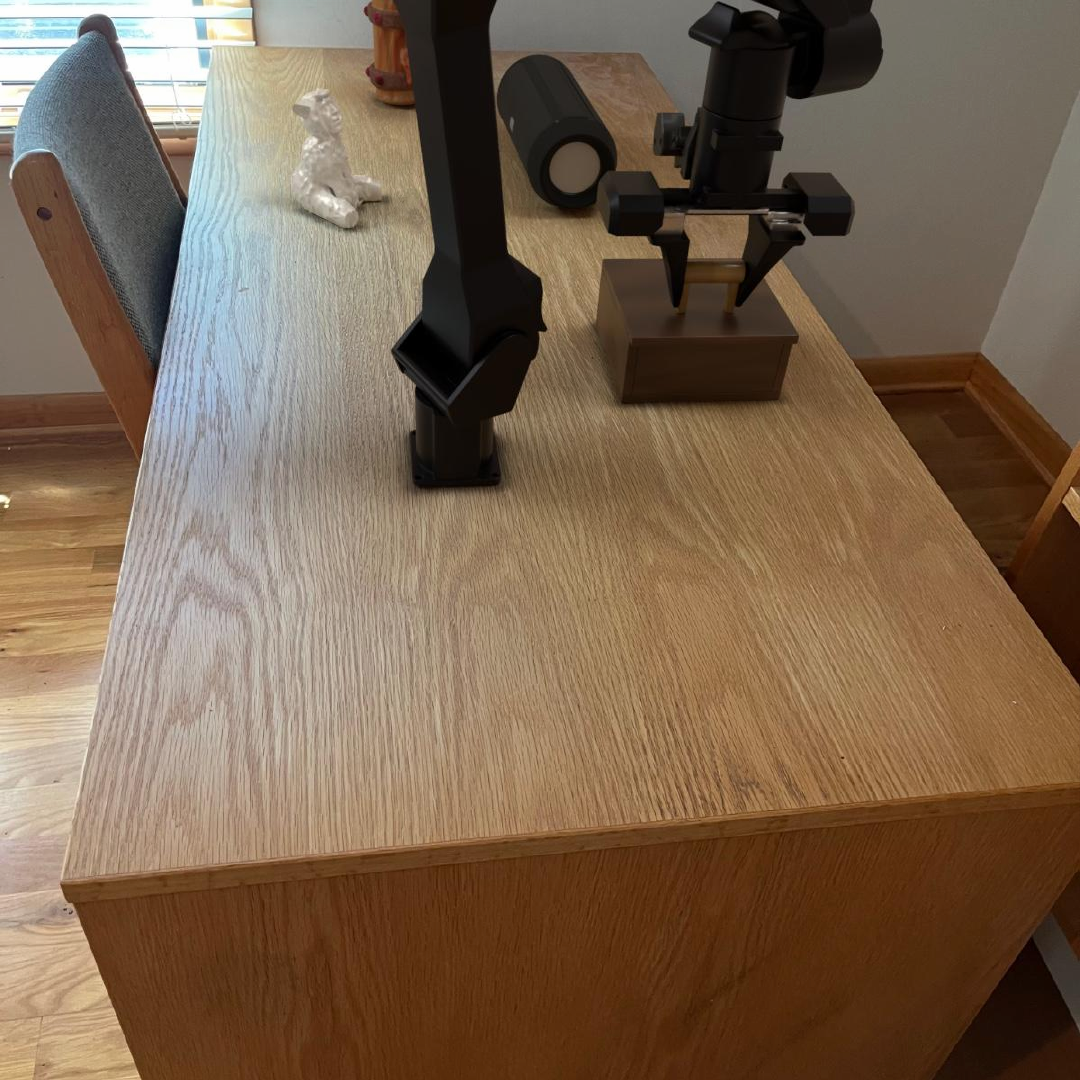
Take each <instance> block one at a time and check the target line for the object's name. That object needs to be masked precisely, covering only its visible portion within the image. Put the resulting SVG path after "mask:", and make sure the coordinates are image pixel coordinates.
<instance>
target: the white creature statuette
mask: <svg viewBox="0 0 1080 1080" xmlns="http://www.w3.org/2000/svg"><path fill="white" fill-rule="evenodd" d="M335 99H336V98H335V97H334V96H333V95H331V90H330V89H328V88H321V87H317V88H316V90H315V91H309V92H307V93H306V94H304V95H303V96H301V100H300V101H299V102H295V103H293V105H292V107H291V112H292V113H293V114H294V115H296V116H297V117H298V119H299V120H300V123H301V124H302V126H303V128H304V129H305V131H306V133H308V136H307V138H305V139H304V142H303V143H302V145H301V149H302V150H301V153H300V159H301V160H300V162H299V163H298V166H297V167H296V169H295V171H294V172H293V173H291V177H292V178H291V179H290V183H291V187H292V192H293V195H294V196H295V200H296V201H297V203H298V204H299V205H301V206H302V207H303V209H304V210H306V211H308V213H310V214H314V215H316V216H318V217H319V218H322V219H324V220H326V221H328V222H329V223H331V224H333V225H336V226H337V227H339V228H342V229H351V228H352V229H353V228H354V227H355V226H356V225H357V223H358V221H359V213H358V211H357V209H358V208H360V206H361V204H362V203H364V202H382V201H383V200H382V199H383V197H382V195H383V194H382V181H379V180H376V179H373V178H372V177H369V175H367V174H354V175H352V169H351V168H350V164H349V163H348V156H347V152H346V151H345V150H346V148H345V145H344V143H343V142H342V139H343V138H342V134H341V133H342V132H343V130H344V129H343V126H342V122H343V116H342V114H341V111H340V109H339V107H338V104H337V102H336V100H335Z"/></svg>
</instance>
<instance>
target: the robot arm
mask: <svg viewBox="0 0 1080 1080" xmlns="http://www.w3.org/2000/svg"><path fill="white" fill-rule="evenodd" d="M750 1H752V2H755V3H757V4H759V5H762V6H764V7H766V8H770V9H772V10H774V11H777V12H778V16H777V18H776V17H775V16H774V15H772V14H771V13H770V12H767V11H765V10H761V9H753V10H746V11H745V10H744V11H740V9H739V7H738V8H737V7H735V6H733V5H730V4H727V3H725V2H723V1H721V0H720V1H719V0H717V1H715V2H714V4H713V5H712V7H711V9H710V10H708V12H707V13H705V14H704V15H703V16H701V17H699V18H698V19H697V20H695V22H693V24H692V25H691V26H690V27H689V29H688V31H687V35H688V37H689V38H690V39H692V40H694V41H696V42H699V43H701V44H703V45H705V46H708V47H710V51H709V52H710V53H709V59H708V64H707V65H708V66H707V72H706V78H705V84H704V90H703V95H702V103H701V106H698V107H697V110H696V112H695V114H694V121H693V125H686V120H685V119H686V118H685V114H684V113H683V112H657V113H656V117H655V124H654V129H653V139H652V140H653V141H652V143H653V144H652V151H653V155H654V156H656V157H674V164H673V168H674V169H679V170H680V171H679V175H680V176H681V179H682V180H684V181H689V184H688V187H660V186H659V184H658V182H657V179H656V177H655V176H654V174H653V172H652V170H616V171H607V172H606V174H605V175H604V176H603V177H602V178H601V179H600V181H599V183H598V192H597V202H596V203H595V205H596V207H597V209H598V213H599V214H600V217H601V220H602V222H603V224H604V227H605V230H606V232H607V234H609V235H612V236H614V237H646V238H647V240H648V242H649V244H650V245H651V246H653V247H659V249H660V252H661V256H662V259H663V262H664V267H665V272H666V278H667V283H668V288H669V294H670V299H671V303H672V305H673V307H674V308H678V307H679V304H680V301H681V298H682V295H683V288H684V281H685V274H686V267H687V260H688V258H689V252H690V246H691V245H690V244H691V240H690V238H689V236H688V234H687V232H686V230H685V228H684V227H685V220H686V216H748V221H747V222H748V225H747V226H748V228H747V237H746V241H745V245H744V248H743V251H742V252H743V253H742V255H741V258H742V259H741V260H744V262H745V266H746V274H745V279H744V281H743V282H742V283H739V288H738V292H737V297H736V302H735V306H736V307H741V306H742V305H743V303H744V302H745V301H746V299H747V298H748V297H749V296H750V294H751V293H752V292H753V291H754V289H755V288H756V287H757V286H758V284H759V283H760V282H761V281H762V279H763V278H765V277H766V276H767V275H768V273H769V272H770V271H771V270H772V269H773V268H774V267H775V266H776V265H777V264H779V262H780V261H781V260H782V259H783V258H784V257H785V256H786V254H788V253H789V252H790V251H791V249H793V248H794V247H801V246H804V245H805V243H806V240H807V237H806V235H805V234H804V232H803V231H802V230H801V229H802V225H804V227H805V228H806V229H807V231H808V232H809V233H810V234H811V236H812V237H846V236H847V235H849V234H850V233H851V230H852V225H853V222H854V218H855V214H856V206H855V201H854V199H853V198H852V196H851V195H850V194H849V192H848V191H847V190H846V189H845V188H844V187H843V185H842V184H841V183H840V182H839V181H838V179H837V178H836V177H835V176H834V175H833V174H832V172H820V171H819V172H816V171H815V172H810V171H809V172H807V171H806V172H805V171H804V172H803V171H802V172H800V171H798V172H795V171H790V172H788V173H787V174H786V175H785V176H784V177H783V179H782V182H781V186H768V185H769V180H770V176H771V171H772V166H773V162H774V161H773V160H774V156H775V152H781V151H782V149H783V143H784V139H785V136H784V135H783V134H782V132H781V131H780V127H781V123H782V119H783V114H784V109H785V105H786V104H785V103H786V99H787V97H788V98H789V99H793V100H806V99H810V98H811V99H812V98H817V97H821V96H826V95H832V94H836V93H843V92H848V91H853V90H857V89H860V88H863V87H864V86H866V85H868V83H870V82H871V81H872V79H873V78H874V77H875V75H876V74H877V72H878V71H879V69H880V67H881V66H880V65H881V63H882V61H883V57H884V49H883V37H882V31H881V28H880V25H879V22H878V19H877V17H876V16H875V15H874V14H873V12H872V11H871V10H872V6H873V2H874V0H750ZM393 2H394V4H395V6H396V9H397V11H398V13H399V15H400V17H401V20H402V23H403V26H404V30H405V37H406V44H407V52H408V59H409V66H410V73H411V80H412V87H413V95H414V102H415V103H414V107H415V115H416V122H417V129H418V137H419V143H420V151H421V152H420V153H421V158H422V159H421V160H422V166H423V174H424V180H425V186H426V194H427V202H428V209H429V215H430V223H431V224H430V225H431V231H432V237H433V249H434V250H433V255H432V258H431V260H430V262H429V263H428V266H427V269H426V271H425V273H424V275H423V277H422V286H421V287H422V288H421V289H422V290H421V311H420V312H419V313H418V314H417V315H416V317H415V318H414V320H413V321H412V322H411V323H410V324H409V326H408V327H407V329H406V330H405V331H404V332H403V333H402V335H401V336H400V338H398V339H397V341H396V342H395V344H394V345H393V346H392V348H391V350H390V354H391V356H392V358H393V360H394V362H395V365H396V366H397V369H398V370H399V372H400V373H401V374H403V375H405V376H407V378H408V379H409V380H410V381H411V382H412V383H413V384H414V385H415V387H414V412H415V413H414V414H415V415H414V417H415V419H414V420H415V429H413V430H410V431H409V446H410V462H411V463H410V464H411V479H412V481H411V482H412V485H414V486H416V487H436V486H442V487H443V486H468V485H469V486H470V485H471V486H472V485H496V484H499V483H501V481H502V472H501V471H502V470H501V466H500V465H501V464H500V459H499V452H498V447H497V441H496V436H495V430H494V425H495V423H494V420H495V418H496V417H498V416H501V415H502V416H503V415H504V414H508V413H510V412H512V411H513V410H514V407H516V403H517V400H518V398H519V394H520V392H521V390H522V388H523V384H524V382H525V379H526V376H527V374H528V372H529V369H530V366H531V363H532V361H534V360H535V359H536V358H537V356H538V352H539V349H540V340H541V339H540V332H541V333H546V332H547V331H548V327H547V324H546V322H545V321H544V317H543V311H542V309H543V299H544V287H543V282H542V278H541V277H540V276H539V275H538V274H537V273H535V272H534V271H533V270H531V269H530V268H529V267H527V266H526V265H525V264H524V263H522V262H521V261H519V260H518V259H517V258H516V257H514V256H513V255H512V254H510V253H509V249H508V238H507V237H508V235H507V227H506V226H507V225H506V213H505V201H504V191H503V189H504V188H503V178H502V177H503V176H502V166H501V165H502V164H501V154H500V153H501V152H500V141H499V130H498V129H499V128H498V120H497V119H498V117H497V107H496V106H497V103H496V94H495V93H496V92H495V81H494V70H493V56H492V43H491V32H490V29H491V27H490V26H491V17H492V15H493V12H494V10H495V7H496V4H497V2H498V0H393Z"/></svg>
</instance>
